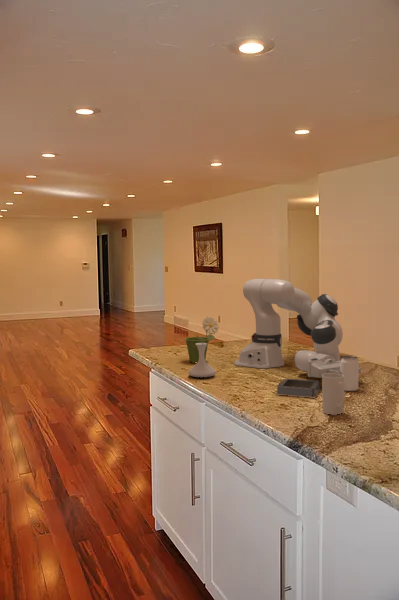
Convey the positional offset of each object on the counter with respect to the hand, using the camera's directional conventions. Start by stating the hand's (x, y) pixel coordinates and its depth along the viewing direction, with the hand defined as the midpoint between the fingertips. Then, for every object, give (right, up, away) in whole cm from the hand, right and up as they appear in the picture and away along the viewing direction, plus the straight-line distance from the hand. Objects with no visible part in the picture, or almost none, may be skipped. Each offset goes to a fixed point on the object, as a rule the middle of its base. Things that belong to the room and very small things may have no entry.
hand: (350, 372), depth 201 cm
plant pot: (-57, -2, +54) cm, 78 cm away
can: (0, -6, 0) cm, 6 cm away
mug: (-13, -9, -30) cm, 33 cm away
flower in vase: (-54, -5, +25) cm, 60 cm away
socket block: (-19, -7, -2) cm, 21 cm away
